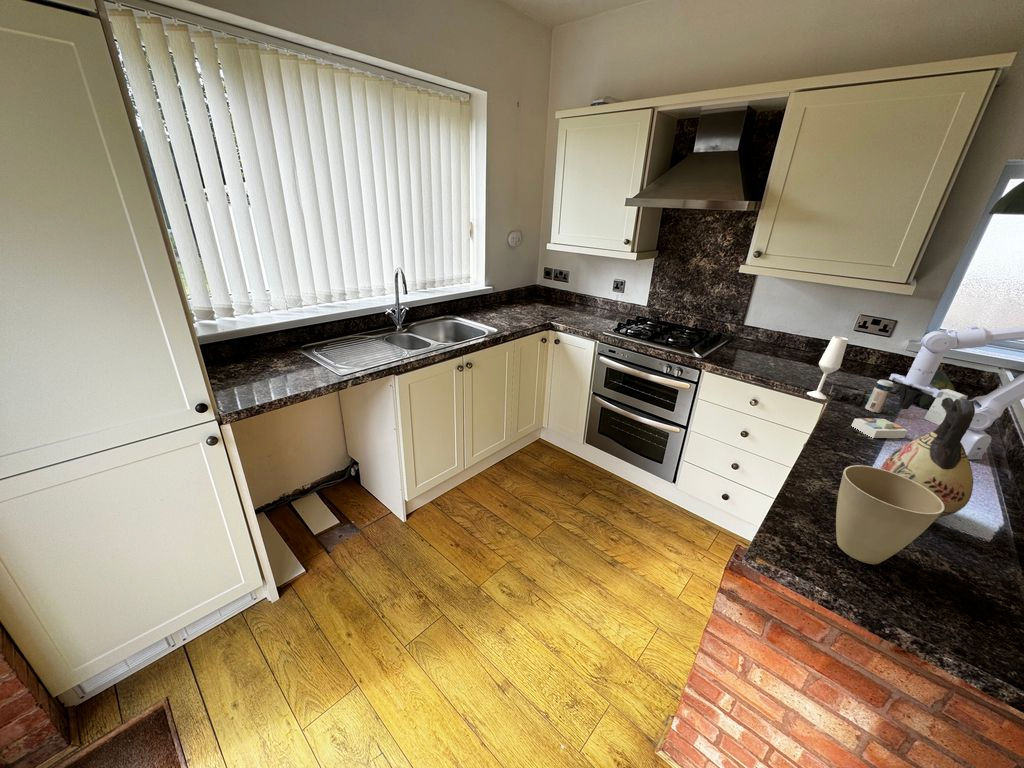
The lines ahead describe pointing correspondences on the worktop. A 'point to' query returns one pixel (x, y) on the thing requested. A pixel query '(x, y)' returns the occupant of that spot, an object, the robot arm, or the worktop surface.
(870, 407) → the beige capped bottle
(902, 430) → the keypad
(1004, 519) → the worktop surface
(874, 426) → the slate blue key
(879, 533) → the plant pot
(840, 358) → the champagne flute
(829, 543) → the worktop surface
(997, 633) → the worktop surface
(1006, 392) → the robot arm
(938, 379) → the squash
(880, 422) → the sage key
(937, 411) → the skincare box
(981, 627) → the worktop surface
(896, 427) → the terracotta key
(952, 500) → the ceramic jug
